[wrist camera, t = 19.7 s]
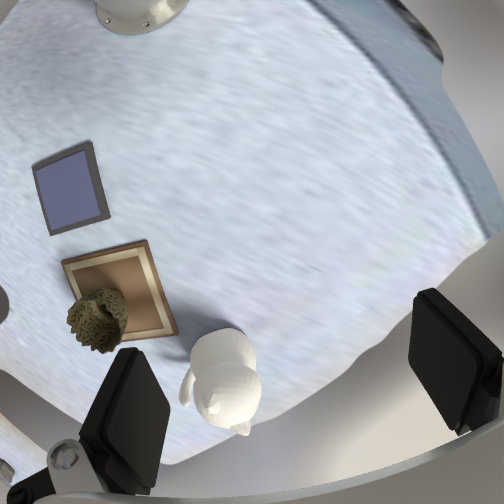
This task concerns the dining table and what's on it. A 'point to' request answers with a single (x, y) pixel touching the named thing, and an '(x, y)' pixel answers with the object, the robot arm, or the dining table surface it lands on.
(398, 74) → the dining table surface
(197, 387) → the cat figurine
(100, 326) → the cup
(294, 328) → the dining table surface
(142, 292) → the marked board
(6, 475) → the decorative stone
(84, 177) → the ink pad
